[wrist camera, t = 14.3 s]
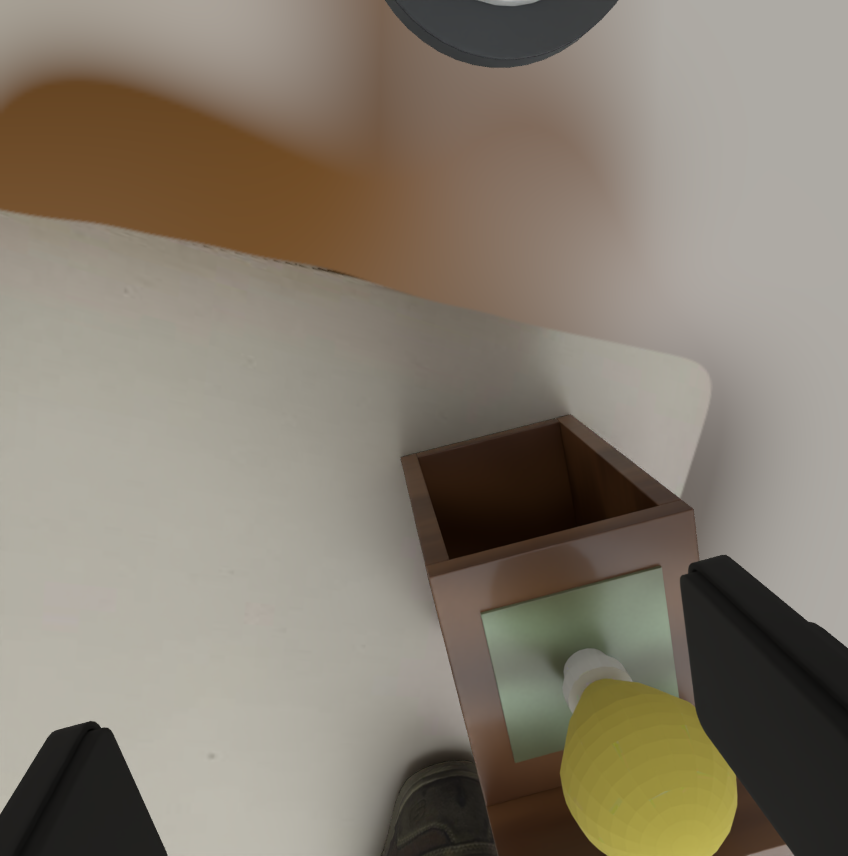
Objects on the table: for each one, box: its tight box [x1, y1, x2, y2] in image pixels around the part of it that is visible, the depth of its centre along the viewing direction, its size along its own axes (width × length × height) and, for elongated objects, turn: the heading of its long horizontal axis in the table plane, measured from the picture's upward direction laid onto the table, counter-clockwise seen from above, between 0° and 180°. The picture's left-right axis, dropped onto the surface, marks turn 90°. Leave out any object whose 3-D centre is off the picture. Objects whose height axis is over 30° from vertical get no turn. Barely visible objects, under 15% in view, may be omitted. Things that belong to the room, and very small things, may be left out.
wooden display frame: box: [401, 415, 794, 856], centre depth 38 cm, size 15×13×24 cm
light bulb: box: [560, 648, 737, 856], centre depth 27 cm, size 7×7×10 cm
